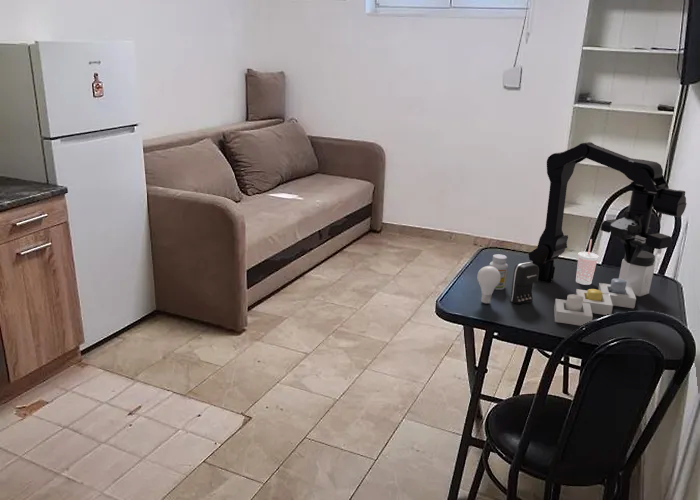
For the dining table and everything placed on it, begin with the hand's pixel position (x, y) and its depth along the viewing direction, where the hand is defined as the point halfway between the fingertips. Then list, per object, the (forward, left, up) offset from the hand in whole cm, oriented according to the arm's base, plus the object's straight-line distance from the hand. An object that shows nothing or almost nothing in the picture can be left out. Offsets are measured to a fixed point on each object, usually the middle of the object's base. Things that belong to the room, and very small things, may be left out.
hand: (629, 263), depth 172 cm
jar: (+5, +14, -13) cm, 20 cm away
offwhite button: (-14, -14, -11) cm, 23 cm away
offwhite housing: (-14, -14, -13) cm, 24 cm away
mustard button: (-8, -4, -12) cm, 15 cm away
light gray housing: (-1, +4, -13) cm, 14 cm away
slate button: (-1, +4, -11) cm, 12 cm away
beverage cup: (-9, +16, -13) cm, 23 cm away
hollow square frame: (-8, -4, -13) cm, 16 cm away
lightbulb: (-37, -13, -13) cm, 41 cm away
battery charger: (-27, -8, -13) cm, 31 cm away
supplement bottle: (-35, +1, -13) cm, 37 cm away
